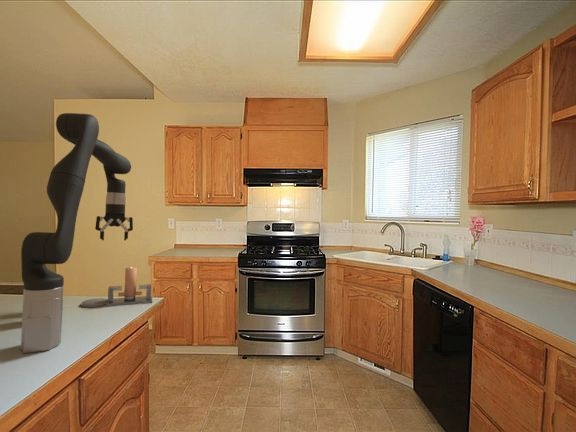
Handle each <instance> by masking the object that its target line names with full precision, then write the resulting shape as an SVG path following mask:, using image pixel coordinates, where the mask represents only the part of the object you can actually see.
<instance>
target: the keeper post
mask: <svg viewBox="0 0 576 432" xmlns="http://www.w3.org/2000/svg"><path fill="white" fill-rule="evenodd" d="M107 289H108V290H107V299H108V303H106V306H105V307H110V306H111V307H114V306H126V305H128V304H129V305H137V304H138V305H140V304H139V303H143V304H152V303H153V296H152V284H151V283H149V284H138V290H146V294H145V296H137V295H135V296H130V297H127V296H123V297H118V298H117V297H116V298H114V295H115V294H114V291H115V292H117V291H122V289H123V285H110V286H108V288H107Z"/></svg>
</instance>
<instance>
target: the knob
mask: <svg viewBox="0 0 576 432" xmlns="http://www.w3.org/2000/svg"><path fill="white" fill-rule="evenodd" d="M124 271H125V272H124V274H125V275H124V291H123V292H118V295H117V296H118V297H124V296H127V297H130V296H135V295H136V296H142V295H143V294H142V293H143V292H142V291H140V290H139V291H137V278H138V277H137V276H138V267H134V266H130V267H125V270H124Z"/></svg>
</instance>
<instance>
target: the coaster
mask: <svg viewBox="0 0 576 432" xmlns="http://www.w3.org/2000/svg"><path fill="white" fill-rule="evenodd" d="M106 303H108V298H104V297H103V298H101V297H100V298H99V297H98V298H91V299H86V300H83V301H82V302H81V307H82V308H84V309H85V308H87V309H94V308H95V309H96V308H101V307H107V306H106Z"/></svg>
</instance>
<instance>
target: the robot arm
mask: <svg viewBox="0 0 576 432" xmlns="http://www.w3.org/2000/svg"><path fill="white" fill-rule="evenodd" d="M55 127H56V130H57V133H58V134H59V135H60V136H61V137H62V138H63V139H64V140H65V141H68V143H71V144H73V145H74V146H73V148H72V149H71V150H70V151H69V152H68V153H67V154H66V155H65V156H64V157H63V158H61V159H60V161H58V162H57V163H56V164H55V165H54V167H53V168H52V169H51V171H50V174H49V178H48V181H47V185H46V194H47V197H48V199H49V201H50V203H51V205H52V207H53V209H54V211H55V213H56V216H57V224H56V230H55V232H41V231H37V232H35V231H34V232H30V233H28V234H27V235H25V237H24V238H23V241H22V243H21V244H22V245H21V251H20V254H21V257H20V259H21V260H20V261H21V280H22V284H23V291H22V292H23V293H22V295H23V296H22V311H21V312H22V314H21V320H22V321H21V338H20V339H21V340H20V351H22V353H23V354H29V353H35V352H36V353H37V352H42V351H43V352H44V351H50V350H52V349H53V348H56V347H57V346H59V345H60V344H61V343H62V324H63V304H64V303H63V302H64V286H65V285H64V282H65V280H64V276H63V275H62V274H59V273H56V272H54V271H53V270H50V269H49V268H48V267H47V265H63V264H65V263H67V262H68V260H69V258H70V256H71V254H72V250H73V245H74V238H75V230H76V224H77V223H76V222H77V216H78V212H79V207H80V202H81V198H82V195H83V192H84V188H85V184H86V179H87V173H88V168H89V166H90V160H91V158H92V156H93V157H94V158H95V159H96V160H97V161H98V162H100V163H101V164H102V165H103V171H104V174H105V177H106V185H107V186H106V197H105V214H104V215H103V216H100V215H98V216H96V220H95V227H94V228H95V230H96V231H98V232H99V239H100V240H101V241H104V240H105V230H106V229H107V227H108V226H109V227H116V228H117V227H121V228H122V230H124V234H123V235H124V238H123V240H124V241H127V240H128V239H129V232H131V231H134V230H133V229H134V223H133V222H134V221H133V220H134V219H133V217H132V216H131V217H127V216H126V184H127V183H126V181H125V180H124V179H119V178H117V177H116V175H127V174H129V173H130V172H131V170H132V164H131V161H130V160H129V159H128V158H127V157H125V156H124V155H122V154H120V153H118V152H116V151H115V150H114V149H113V148H112V147H111V146H110V145H109V144H108V143H106V142H104V141H102V140H100V139H98V138H99V134H100V132H99V131H100V125H99V121H98V119H97V117H96V116H95V115H94V114H93V115H92V114H88V113H78V112H77V113H73V112H65V113H61V114H59V115H58V116H57V118H56V121H55ZM103 220H104V221H105V224H104V225H103V226H102V227H100V223H101V222H102V221H103ZM125 221H127V223H129V228H127V227H126V225H125V224H124V222H125Z"/></svg>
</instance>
